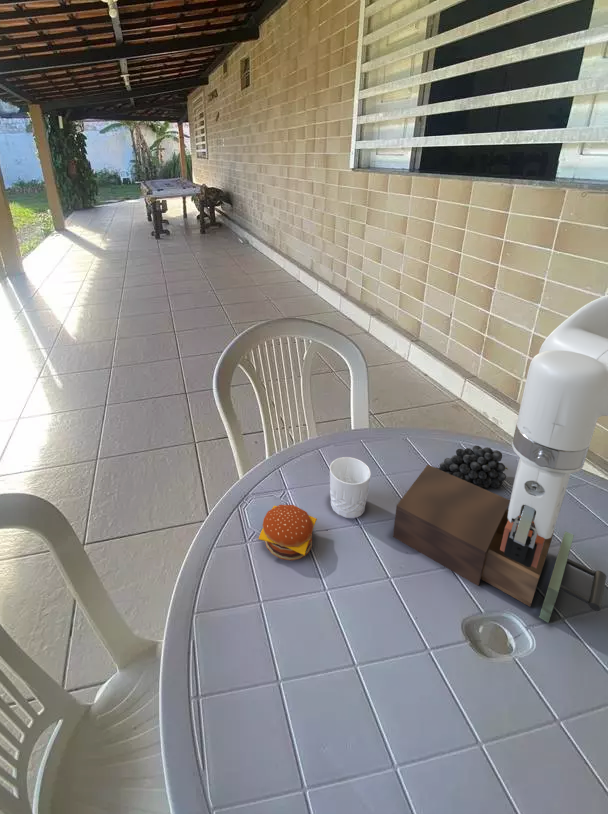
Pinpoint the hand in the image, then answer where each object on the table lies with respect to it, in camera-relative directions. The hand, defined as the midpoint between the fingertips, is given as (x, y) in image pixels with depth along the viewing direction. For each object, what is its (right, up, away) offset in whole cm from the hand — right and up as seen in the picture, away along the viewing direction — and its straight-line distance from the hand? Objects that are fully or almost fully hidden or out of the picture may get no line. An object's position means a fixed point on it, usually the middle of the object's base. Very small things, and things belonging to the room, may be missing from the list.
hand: (521, 547), depth 61 cm
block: (0, 0, 0) cm, 0 cm away
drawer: (+8, -10, +10) cm, 17 cm away
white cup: (-17, -7, +27) cm, 33 cm away
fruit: (+10, -3, +33) cm, 34 cm away
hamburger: (-31, -10, +20) cm, 38 cm away
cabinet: (-1, -9, +19) cm, 21 cm away
